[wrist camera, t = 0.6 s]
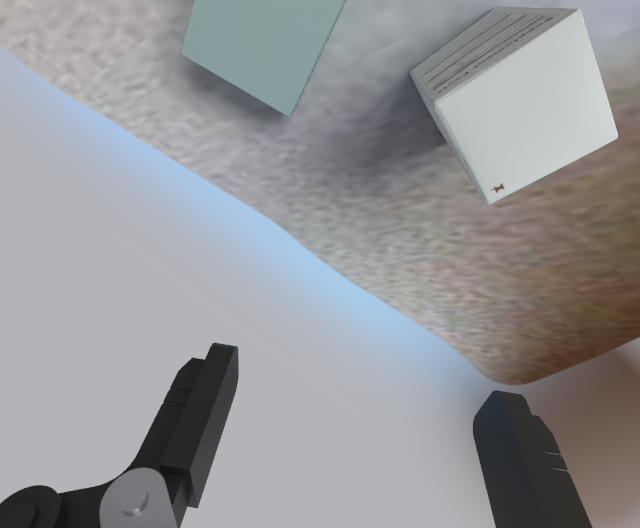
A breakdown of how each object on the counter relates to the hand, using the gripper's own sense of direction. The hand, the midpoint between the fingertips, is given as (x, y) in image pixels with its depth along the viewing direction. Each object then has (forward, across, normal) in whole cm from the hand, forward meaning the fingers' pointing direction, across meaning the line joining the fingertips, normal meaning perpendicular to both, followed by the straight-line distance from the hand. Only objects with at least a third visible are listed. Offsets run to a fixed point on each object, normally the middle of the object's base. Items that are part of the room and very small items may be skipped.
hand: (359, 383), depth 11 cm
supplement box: (+26, -8, -5) cm, 28 cm away
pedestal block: (+26, +9, -7) cm, 29 cm away
